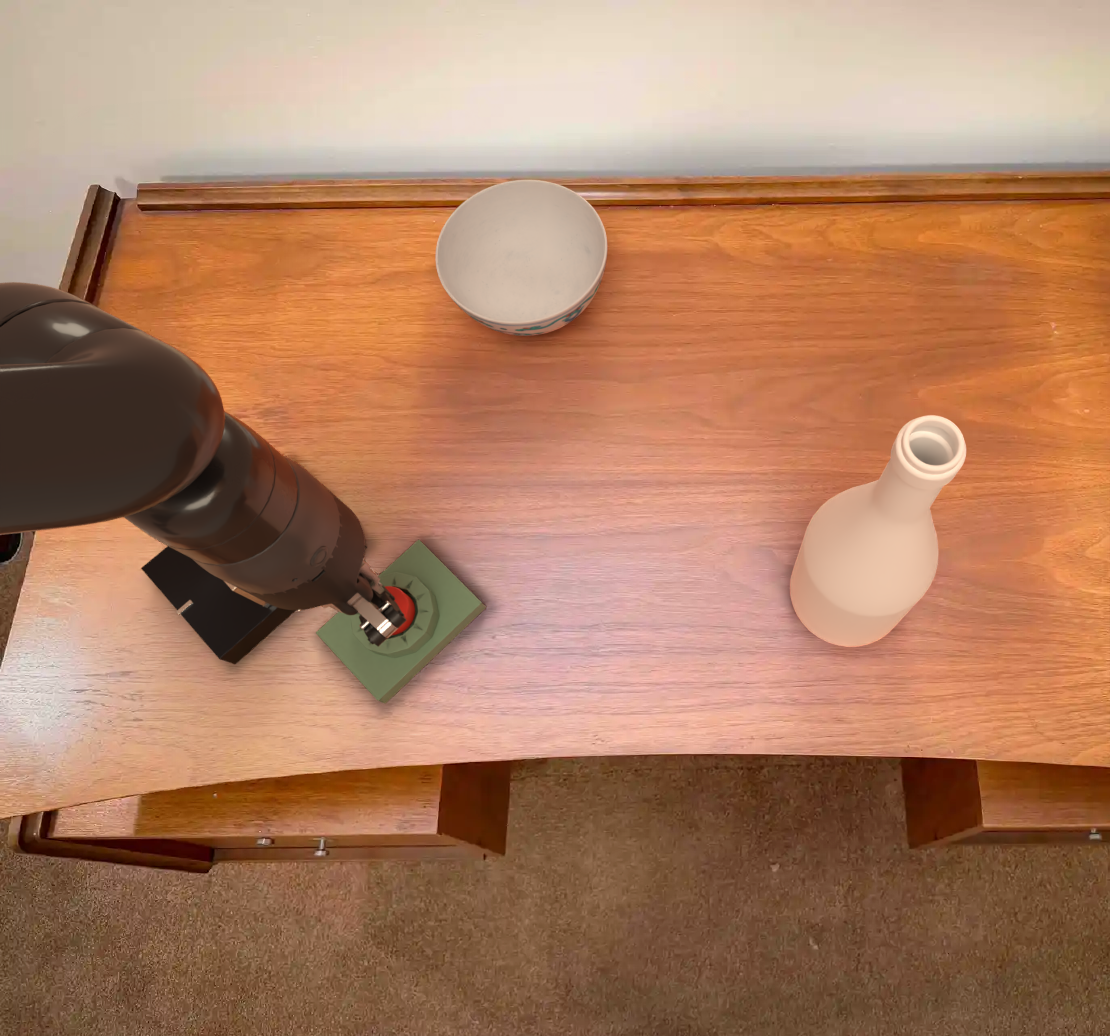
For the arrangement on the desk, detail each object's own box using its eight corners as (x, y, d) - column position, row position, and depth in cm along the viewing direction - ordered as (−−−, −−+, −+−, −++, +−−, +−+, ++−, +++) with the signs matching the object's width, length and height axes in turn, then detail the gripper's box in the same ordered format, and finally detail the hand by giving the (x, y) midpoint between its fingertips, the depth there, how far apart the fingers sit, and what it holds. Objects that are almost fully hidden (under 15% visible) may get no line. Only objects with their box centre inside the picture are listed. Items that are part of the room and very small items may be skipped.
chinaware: (427, 321, 82) (400, 272, 75) (520, 211, 86) (503, 154, 79) (556, 396, 79) (541, 352, 72) (646, 277, 83) (640, 225, 76)
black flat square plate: (245, 679, 71) (229, 673, 68) (146, 565, 74) (127, 555, 72) (380, 558, 74) (368, 548, 72) (279, 454, 78) (265, 441, 75)
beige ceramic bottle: (792, 651, 71) (848, 532, 43) (785, 540, 74) (834, 362, 46) (908, 648, 71) (1042, 527, 43) (896, 538, 74) (1014, 357, 46)
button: (390, 645, 69) (382, 640, 67) (361, 614, 69) (352, 609, 68) (424, 612, 69) (417, 607, 68) (395, 582, 70) (388, 576, 69)
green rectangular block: (385, 704, 70) (369, 698, 67) (323, 637, 72) (305, 627, 69) (486, 607, 73) (476, 597, 69) (424, 545, 75) (411, 532, 71)
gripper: (153, 500, 51) (288, 580, 67) (291, 654, 48) (397, 699, 64) (256, 416, 53) (363, 514, 69) (396, 559, 49) (473, 626, 66)
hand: (380, 603), depth 66 cm, fingers closed
